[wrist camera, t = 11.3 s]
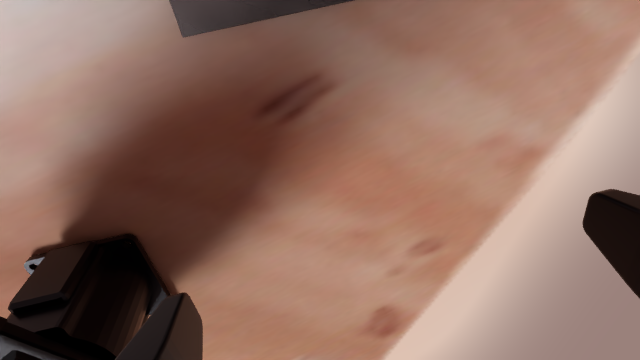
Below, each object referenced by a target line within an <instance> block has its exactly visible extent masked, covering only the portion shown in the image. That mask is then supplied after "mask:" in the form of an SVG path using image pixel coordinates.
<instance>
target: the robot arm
mask: <svg viewBox="0 0 640 360" xmlns="http://www.w3.org/2000/svg"><path fill="white" fill-rule="evenodd" d="M583 228H584V230H585V232H586V234H587V235H588V236H589V237H590V239H591V240H592V241H593V242H594V244H595V245H596V246H597V247H598V249H599V250H600V251H601V253H602V254H603V255H604V256H605V258H606V259H607V260H608V261H609V262H610V264H611V265H612V266H613V267H614V269H615V270H616V271H617V273H618V274H619V275H620V276H621V277H622V279H623V280H624V281H625V282H626V284H627V285H628V286H629V287H630V288H631V290H632V291H633V292H634V293H635V294H636V295H637V296H638V297H639V298H640V195H636V194H632V193H627V192H623V191H619V190H615V189H608V190H604V191H600V192H596V193H593V194H592V195H591V196H590V197H589V200H588V204H587V207H586V211H585V215H584V218H583ZM126 242H130V243H131V244H128V243H126ZM35 264H36V265H35ZM24 267H25V269H26V270H27V271H28V273H29V274H30V275H31V276H30V277H29V278H28V280H27V281H26V282H25V284H24V285H23V286H22V288H21V289H20V290H19V292H18V293H17V294H16V295H15V297H14V298H13V299H12V301H11V302H10V304H9V307H8V310H9V311H10V312H11V314H10V315H9V317H8V318H7V319H5V318H3V317H0V360H202V352H203V326H202V320H201V317H200V315H199V313H198V311H197V309H196V307H195V305H194V304H193V302H192V300H191V298H190V296H189V295H188V294H187V293H179V294H175V295H170V293H169V292H168V290H167V288H166V287H165V285H164V283H163V281H162V280H161V278H160V276H159V275H158V273H157V271H156V270H155V268H154V266H153V265H152V263H151V261H150V259H149V258H148V256H147V254H146V253H145V251H144V249H143V248H142V246H141V244H140V243H139V241H138V239H137V238H136V237H135V236H134V235H131V234H124V235H120V236H116V237H112V238H107V239H103V240H99V241H95V242H94V241H89V242H85V243H80V244H76V245H72V246H68V247H63V248H59V249H55V250H51V251H49V252H48V253H44V254H40V255H35V256H32V257H30V258H29V259H28V260H27V261H26V263H25V264H24ZM149 315H151V316H150V317H149V318H148V316H149Z"/></svg>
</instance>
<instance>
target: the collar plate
mask: <svg viewBox="0 0 640 360" xmlns="http://www.w3.org/2000/svg"><path fill="white" fill-rule="evenodd" d="M169 1H170V3H171V6H172V9H173V12H174V14H175V17H176V20H177V23H178V25H179V28H180V31H181V34H182V37H188V36H192V35H197V34H201V33H206V32H211V31H215V30H220V29H224V28H229V27H234V26H238V25H243V24H247V23H252V22H257V21H261V20H266V19H270V18H275V17H280V16H284V15H289V14H293V13H298V12H303V11H307V10H312V9H316V8H321V7H325V6H330V5H335V4H339V3H344V2H348V1H353V0H169Z"/></svg>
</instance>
